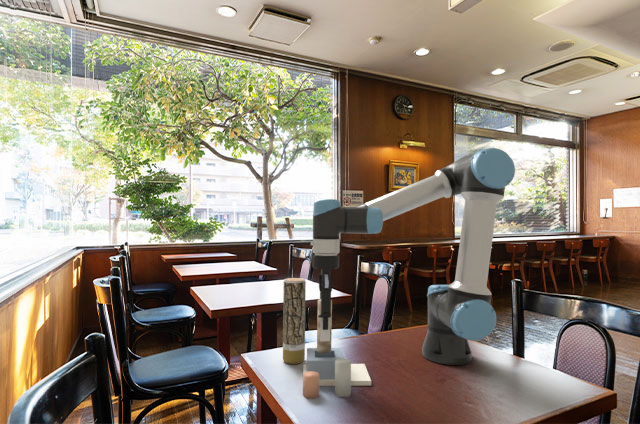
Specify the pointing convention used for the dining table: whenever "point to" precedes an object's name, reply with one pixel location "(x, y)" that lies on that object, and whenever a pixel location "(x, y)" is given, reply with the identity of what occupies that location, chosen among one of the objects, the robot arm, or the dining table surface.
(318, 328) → the long dowel
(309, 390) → the short dowel
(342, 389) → the medium dowel
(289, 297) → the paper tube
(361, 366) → the socket board
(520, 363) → the dining table surface
